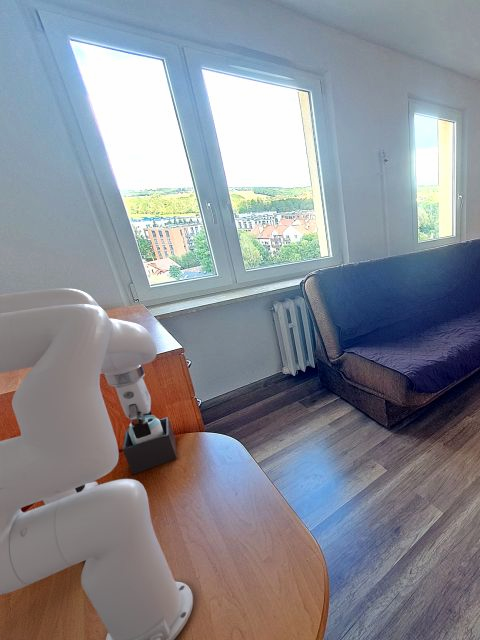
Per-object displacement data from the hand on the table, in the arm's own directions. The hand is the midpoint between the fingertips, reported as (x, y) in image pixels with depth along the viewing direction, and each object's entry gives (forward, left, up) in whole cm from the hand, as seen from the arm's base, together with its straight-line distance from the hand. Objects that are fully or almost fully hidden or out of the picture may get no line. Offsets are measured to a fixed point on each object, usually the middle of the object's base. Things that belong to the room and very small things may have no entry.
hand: (144, 426), depth 95 cm
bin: (0, 0, -11) cm, 11 cm away
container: (-16, +14, -11) cm, 24 cm away
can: (0, 0, -10) cm, 10 cm away
